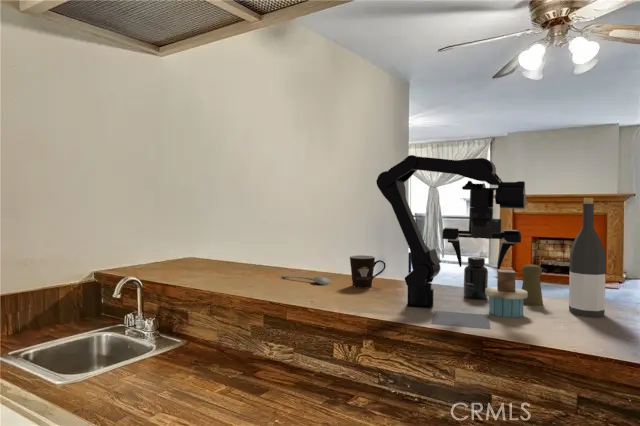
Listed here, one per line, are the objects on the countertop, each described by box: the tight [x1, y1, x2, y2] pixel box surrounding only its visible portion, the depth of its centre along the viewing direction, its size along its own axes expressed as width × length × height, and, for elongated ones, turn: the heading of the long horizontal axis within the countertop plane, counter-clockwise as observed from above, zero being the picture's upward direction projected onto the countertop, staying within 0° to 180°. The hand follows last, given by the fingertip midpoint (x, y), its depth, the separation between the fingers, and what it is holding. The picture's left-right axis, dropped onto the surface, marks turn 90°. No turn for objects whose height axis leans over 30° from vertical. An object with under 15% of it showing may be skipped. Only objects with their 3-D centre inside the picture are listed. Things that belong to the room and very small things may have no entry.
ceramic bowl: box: [488, 296, 525, 318], centre depth 114 cm, size 8×8×5 cm
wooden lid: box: [485, 269, 528, 299], centre depth 113 cm, size 10×10×6 cm
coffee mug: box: [349, 254, 386, 288], centre depth 150 cm, size 12×9×10 cm
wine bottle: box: [568, 197, 607, 318], centre depth 115 cm, size 8×8×30 cm
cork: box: [521, 263, 544, 306], centre depth 126 cm, size 6×6×11 cm
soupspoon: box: [280, 274, 333, 286], centre depth 160 cm, size 22×3×7 cm
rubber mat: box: [430, 310, 491, 330], centre depth 108 cm, size 13×13×1 cm
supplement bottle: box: [463, 256, 489, 300], centre depth 134 cm, size 7×7×12 cm
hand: (479, 267), depth 114 cm, fingers open, 9 cm apart
